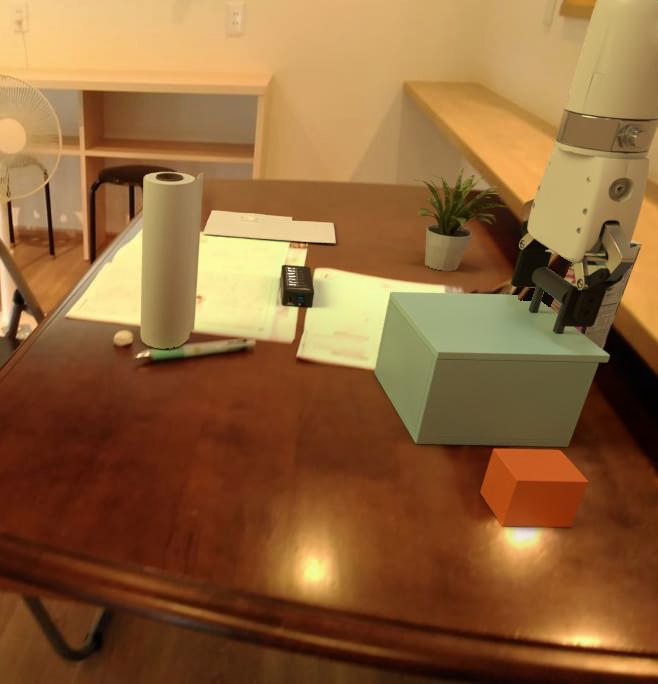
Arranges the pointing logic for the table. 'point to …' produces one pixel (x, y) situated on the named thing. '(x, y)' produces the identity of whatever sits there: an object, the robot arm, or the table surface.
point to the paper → (268, 227)
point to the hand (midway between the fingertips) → (548, 304)
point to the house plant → (452, 223)
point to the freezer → (478, 393)
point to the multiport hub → (296, 286)
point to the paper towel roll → (169, 257)
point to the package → (533, 487)
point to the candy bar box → (609, 303)
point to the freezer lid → (498, 324)
